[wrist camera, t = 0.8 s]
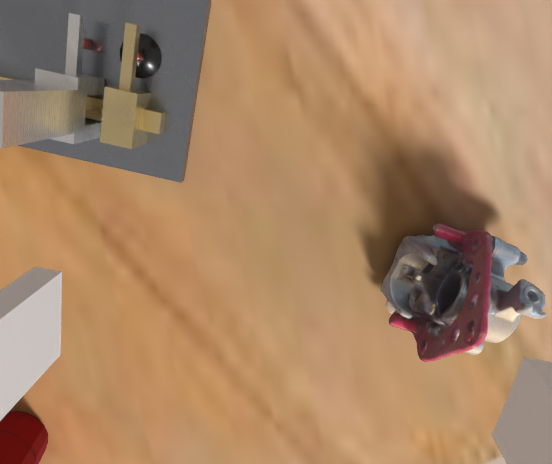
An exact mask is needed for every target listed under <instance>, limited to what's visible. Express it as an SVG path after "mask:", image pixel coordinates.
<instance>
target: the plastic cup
mask: <svg viewBox="0 0 552 464" xmlns="http://www.w3.org/2000/svg"><path fill="white" fill-rule="evenodd" d="M47 443H48V433H47V431H46V429H45V427H44V425H43V424H42V423H41V422H40V421H39V420H38V419H37V418H35V417H33V416H31V415H29V414H27V413H22V412H17V411H16V412H10V413H7V414H6V415H5V416H4V418H3V419H2V420H1V421H0V464H39V462H40V460H41V458H42V456H43V453H44V451H45V449H46V445H47Z"/></svg>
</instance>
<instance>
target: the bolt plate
mask: <svg viewBox="0 0 552 464" xmlns="http://www.w3.org/2000/svg"><path fill="white" fill-rule="evenodd" d="M210 6H211V0H0V75H4V76H8V77H13V78H17V79H21V80H35V68H41V69H58V70H65V68H66V51H67V35H68V18H69V13H72V14H77V15H81V16H84V17H85V30H84V38H88V39H90V40H91V41H92V43H93V47H92V49H90V50H86V49H83V58H82V72H81V73H82V74H87V75H91V76H95V77H100V78H104V79H105V84H104V88H105V87H113V86H119V83H120V73H121V63H122V53H123V42H124V32H125V22H126V23H130V24H134V25H138V26H141V29H140V38H139V47H138V50H140V51H142V52H143V53H144V55H145V58H144V60H143V61H141V62H139V61H137V66H136V75H135V84H134V89H136V90H140V91H144V92H149V93H152V98H151V107H150V109H153V110H158V111H162V112H166V119H165V126H164V133H161V134H156V133H151V132H147V139H146V144H144V145H141V146H139V147H136V148H133V149H128V148H124V147H119V146H115V145H110V144H106V143H102V142H100V138H96V139H93V140H89V141H85V142H81V143H77V144H70V143H65V142H61V141H57V140H52V139H45V140H40V141H35V142H31V143H26V144H21V145H18V146H22V147H27V148H31V149H36V150H40V151H44V152H49V153H53V154H58V155H62V156H66V157H71V158H75V159H80V160H84V161H88V162H93V163H97V164H102V165H106V166H111V167H115V168H119V169H124V170H128V171H133V172H137V173H141V174H146V175H150V176H155V177H159V178H164V179H168V180H172V181H177V182H183V181H184V176H185V170H186V163H187V157H188V150H189V144H190V137H191V131H192V124H193V117H194V111H195V104H196V98H197V91H198V85H199V78H200V71H201V65H202V58H203V52H204V45H205V39H206V32H207V26H208V19H209V12H210ZM92 96H96V97H101V98H104V95H92ZM85 119H87V120H91V121H96V122H100V123H101V122H102V121H99V120H94V119H90V118H85ZM100 133H101V130H100Z"/></svg>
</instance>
